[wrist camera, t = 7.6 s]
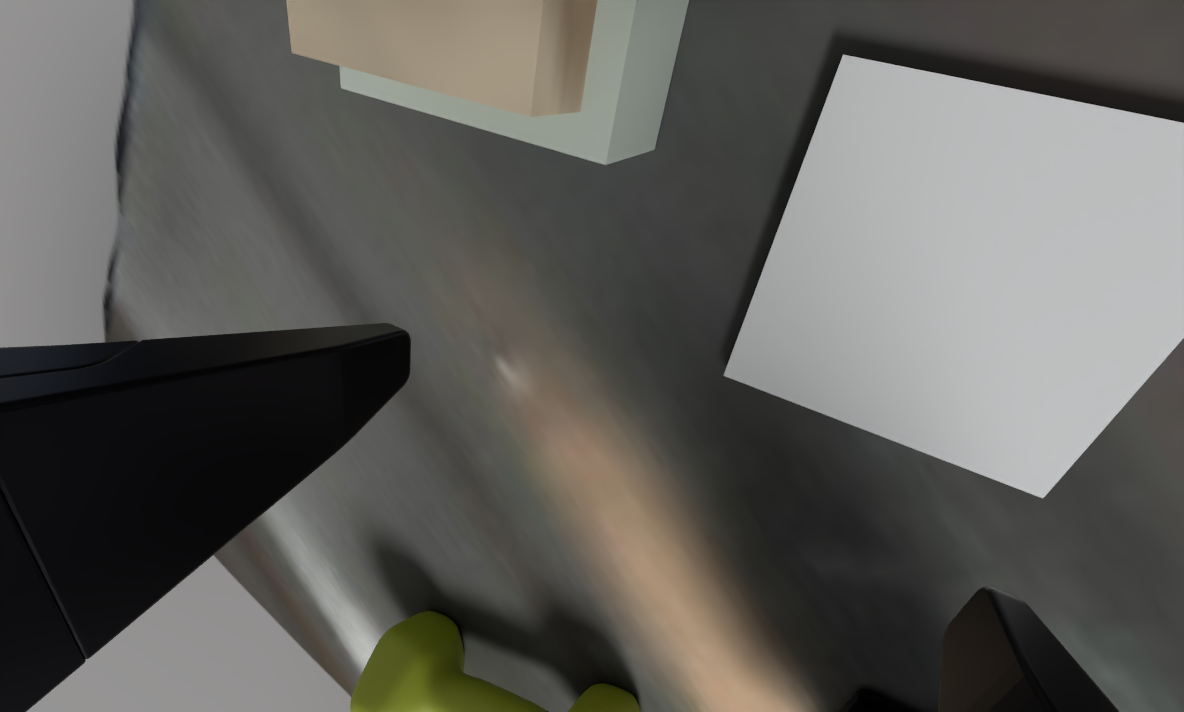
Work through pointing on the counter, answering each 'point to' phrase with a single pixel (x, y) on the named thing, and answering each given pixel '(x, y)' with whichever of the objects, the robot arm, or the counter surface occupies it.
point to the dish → (611, 92)
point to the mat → (972, 269)
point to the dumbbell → (448, 677)
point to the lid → (458, 46)
